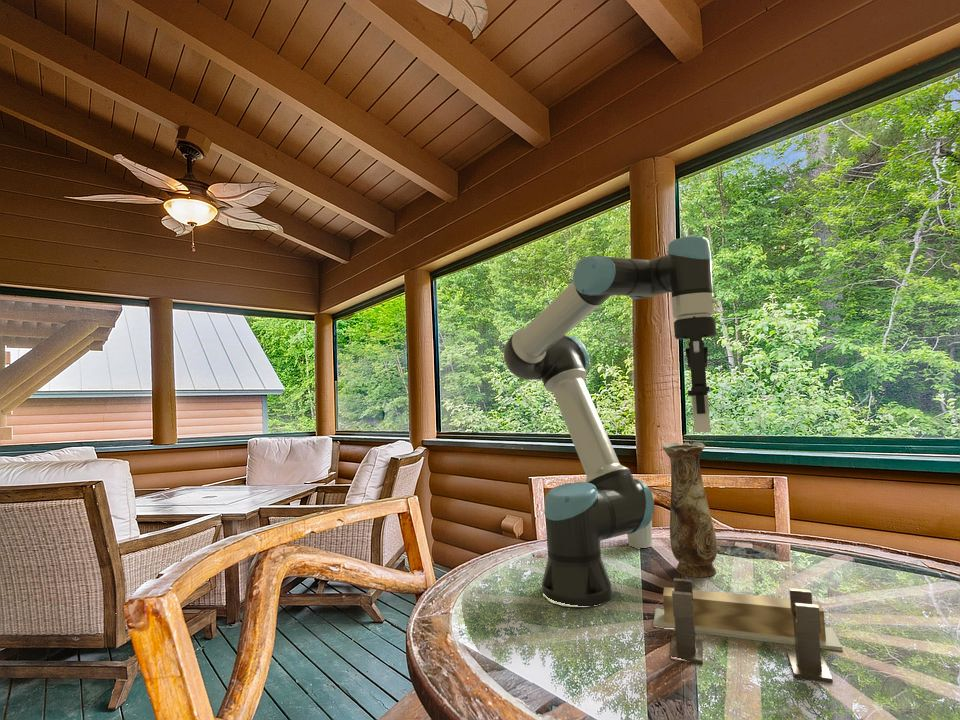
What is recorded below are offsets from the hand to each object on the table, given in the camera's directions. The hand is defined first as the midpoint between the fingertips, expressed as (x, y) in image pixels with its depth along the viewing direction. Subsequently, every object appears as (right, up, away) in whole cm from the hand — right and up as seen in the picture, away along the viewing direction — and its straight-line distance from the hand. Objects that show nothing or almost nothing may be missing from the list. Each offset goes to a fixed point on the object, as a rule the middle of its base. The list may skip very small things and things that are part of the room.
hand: (702, 427), depth 100 cm
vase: (+9, -37, +24) cm, 45 cm away
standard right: (+9, -36, -18) cm, 41 cm away
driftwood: (+23, -38, +35) cm, 56 cm away
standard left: (-7, -37, -11) cm, 39 cm away
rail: (+5, -36, -5) cm, 36 cm away
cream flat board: (+5, -36, -5) cm, 37 cm away
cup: (+2, -39, +44) cm, 59 cm away
